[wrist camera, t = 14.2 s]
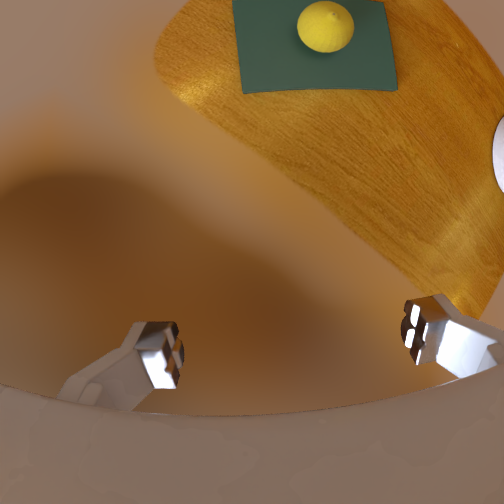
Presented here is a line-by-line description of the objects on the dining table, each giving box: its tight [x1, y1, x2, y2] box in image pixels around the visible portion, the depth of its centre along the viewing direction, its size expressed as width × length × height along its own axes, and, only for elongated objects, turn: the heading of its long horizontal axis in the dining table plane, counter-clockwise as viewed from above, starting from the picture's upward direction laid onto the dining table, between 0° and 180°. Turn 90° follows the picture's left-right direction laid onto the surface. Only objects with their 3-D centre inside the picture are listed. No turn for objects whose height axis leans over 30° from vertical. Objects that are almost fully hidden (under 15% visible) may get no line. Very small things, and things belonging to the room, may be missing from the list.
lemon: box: [297, 1, 354, 53], centre depth 23 cm, size 6×6×8 cm
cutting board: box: [232, 0, 398, 94], centre depth 28 cm, size 18×12×2 cm, turn 96°
